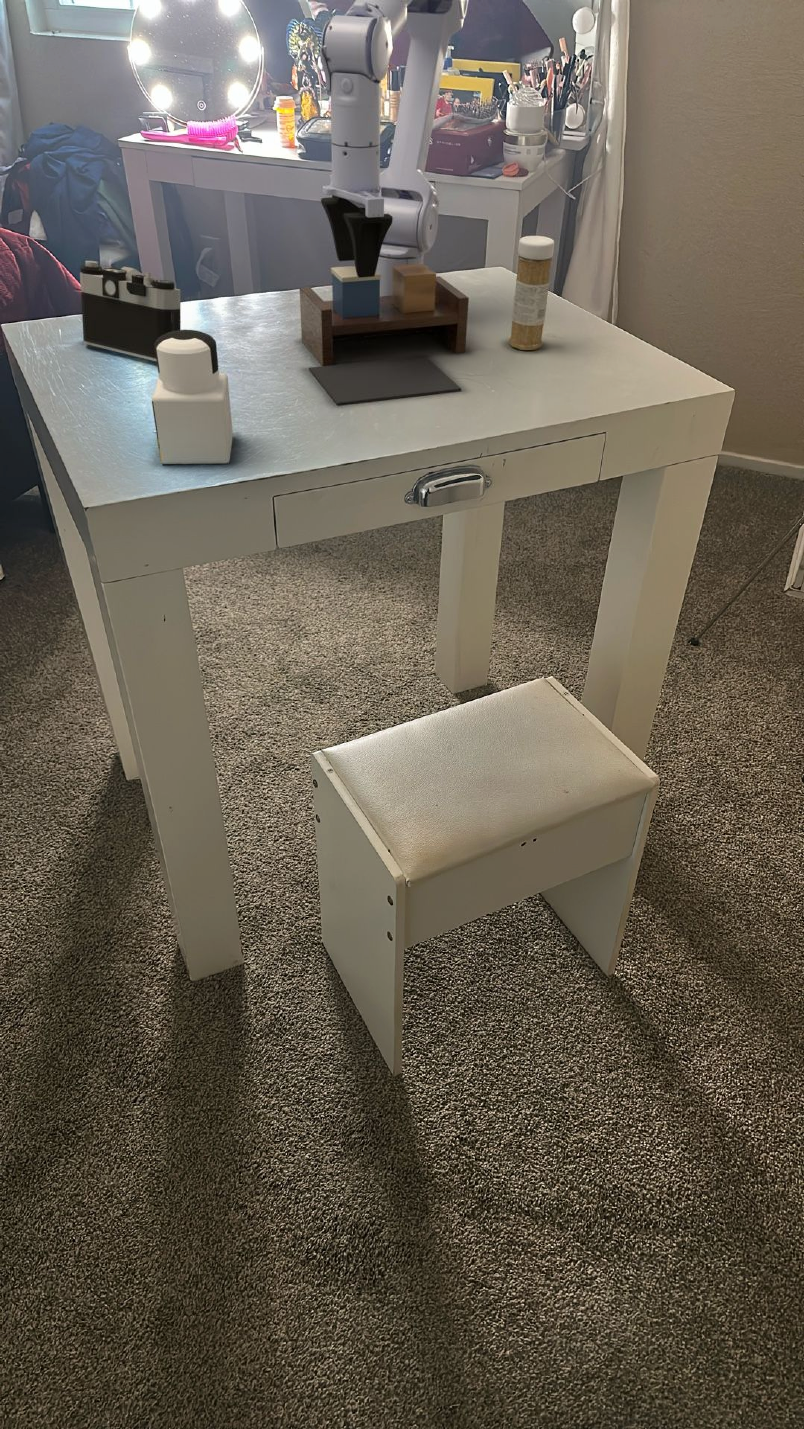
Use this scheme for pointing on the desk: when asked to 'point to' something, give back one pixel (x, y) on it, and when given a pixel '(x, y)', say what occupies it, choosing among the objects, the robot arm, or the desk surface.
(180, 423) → the medicine bottle
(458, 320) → the shelf
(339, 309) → the blue box
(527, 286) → the sprinkles bottle
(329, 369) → the mat
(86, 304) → the camera
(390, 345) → the desk surface
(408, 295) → the tan box
